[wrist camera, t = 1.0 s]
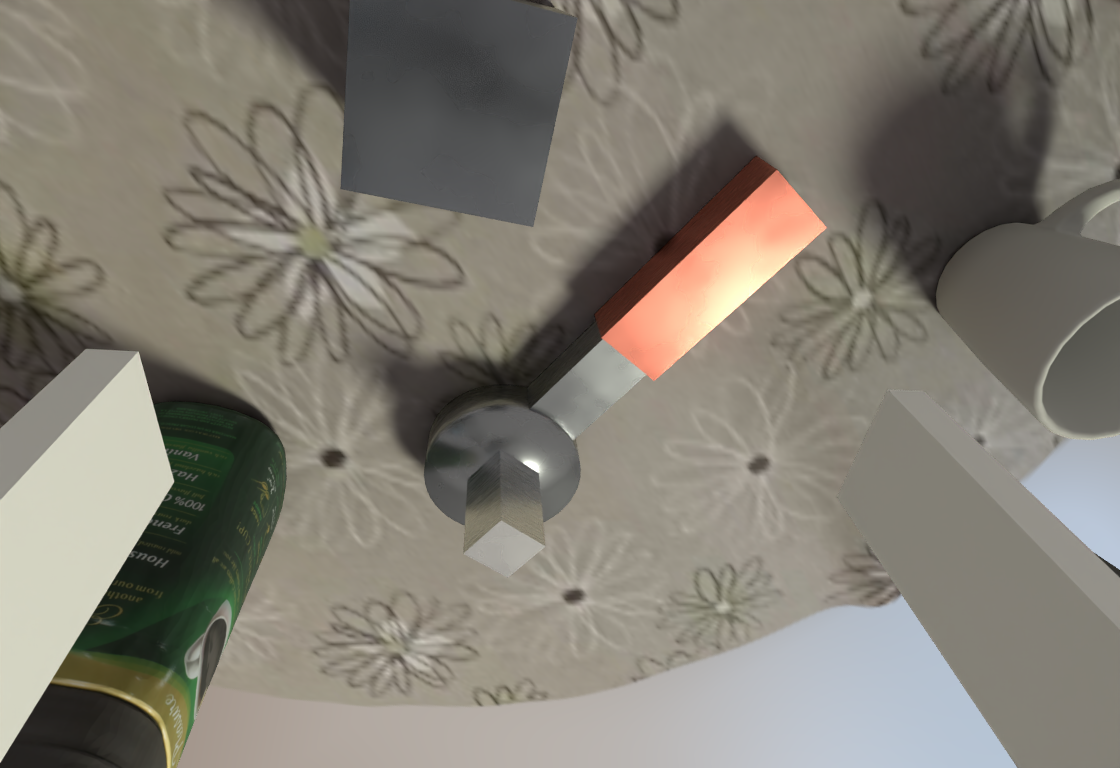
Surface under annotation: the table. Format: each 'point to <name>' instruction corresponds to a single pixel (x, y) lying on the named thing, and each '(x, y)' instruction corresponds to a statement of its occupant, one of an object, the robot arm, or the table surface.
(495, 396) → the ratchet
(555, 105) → the grey rectangular block
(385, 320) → the table surface
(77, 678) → the coffee jar
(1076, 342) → the cup
